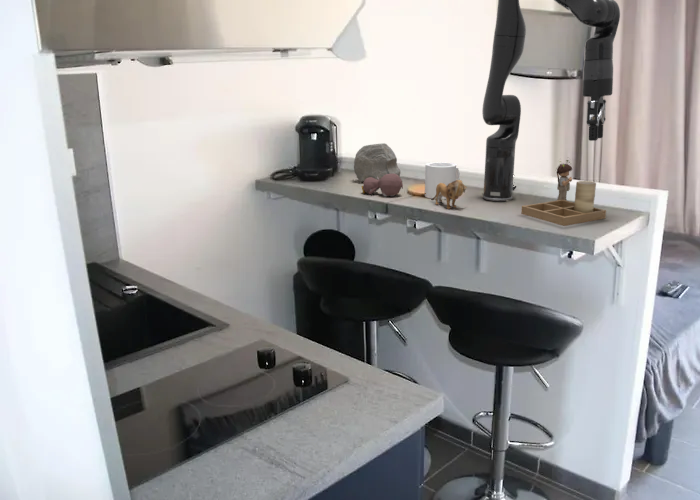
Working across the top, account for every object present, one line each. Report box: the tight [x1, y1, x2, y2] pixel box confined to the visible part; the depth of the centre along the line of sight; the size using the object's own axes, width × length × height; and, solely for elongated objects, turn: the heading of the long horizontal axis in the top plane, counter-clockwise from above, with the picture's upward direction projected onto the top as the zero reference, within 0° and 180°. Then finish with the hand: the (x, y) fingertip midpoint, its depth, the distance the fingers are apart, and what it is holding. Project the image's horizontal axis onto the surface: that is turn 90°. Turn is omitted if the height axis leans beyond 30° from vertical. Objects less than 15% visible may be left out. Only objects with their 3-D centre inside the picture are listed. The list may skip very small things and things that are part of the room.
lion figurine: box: [430, 179, 468, 210], centre depth 199 cm, size 15×5×9 cm, turn 33°
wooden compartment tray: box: [520, 199, 607, 227], centre depth 183 cm, size 16×16×3 cm
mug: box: [424, 161, 461, 200], centre depth 213 cm, size 14×10×11 cm
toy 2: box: [554, 157, 573, 201], centre depth 199 cm, size 6×6×15 cm
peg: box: [574, 180, 597, 213], centre depth 180 cm, size 5×5×10 cm
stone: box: [353, 142, 402, 182], centre depth 234 cm, size 19×7×15 cm, turn 53°
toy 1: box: [361, 173, 404, 198], centre depth 216 cm, size 8×8×15 cm
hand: (595, 139), depth 173 cm, fingers open, 8 cm apart
